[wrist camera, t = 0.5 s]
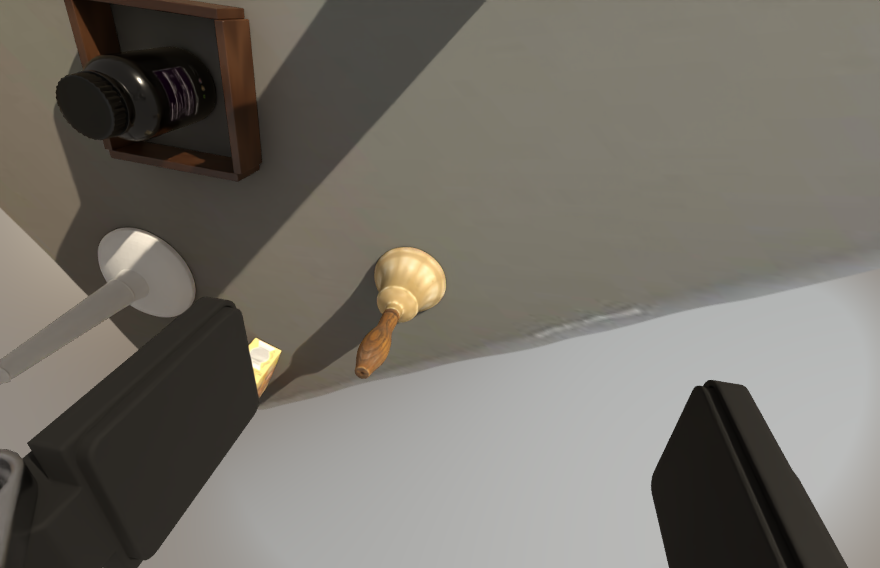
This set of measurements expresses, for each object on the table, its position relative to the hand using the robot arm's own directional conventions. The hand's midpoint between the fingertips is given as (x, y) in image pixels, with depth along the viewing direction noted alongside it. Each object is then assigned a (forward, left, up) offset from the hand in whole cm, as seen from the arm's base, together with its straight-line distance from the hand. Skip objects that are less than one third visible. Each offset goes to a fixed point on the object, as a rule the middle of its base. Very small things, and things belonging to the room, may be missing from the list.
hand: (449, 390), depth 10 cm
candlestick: (+27, -42, -36) cm, 62 cm away
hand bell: (+20, -8, -36) cm, 42 cm away
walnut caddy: (+3, -32, -36) cm, 48 cm away
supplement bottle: (+3, -32, -36) cm, 48 cm away
